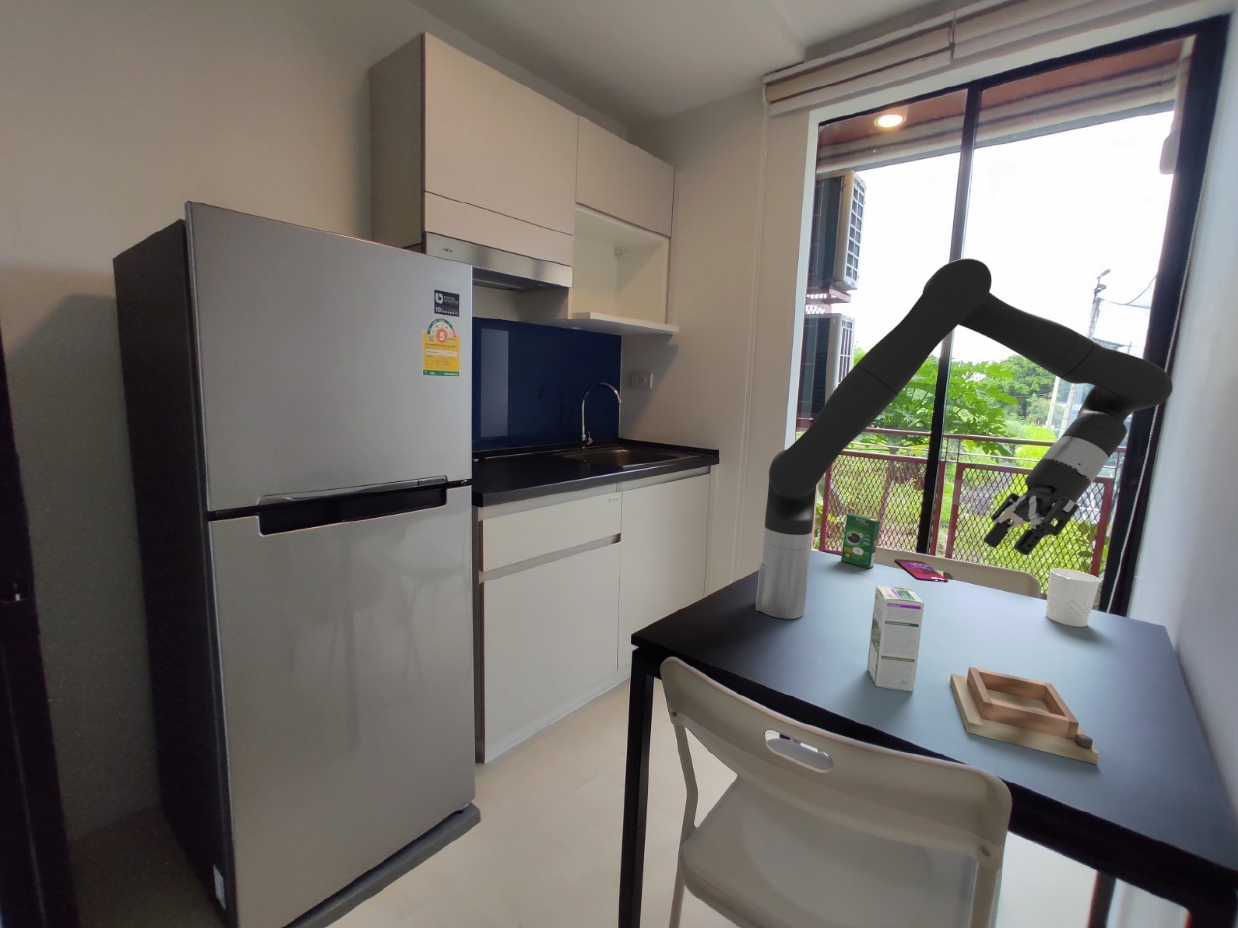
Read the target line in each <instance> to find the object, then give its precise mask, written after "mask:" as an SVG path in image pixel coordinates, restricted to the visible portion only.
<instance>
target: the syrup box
mask: <svg viewBox="0 0 1238 928" xmlns="http://www.w3.org/2000/svg"><path fill="white" fill-rule="evenodd" d="M873 601H874V603H873V610H872V611H873V612H872V621H871V628H870V638H869V647H868V648H869V649H868V658H867V665H866V667H867V668H866V669H867V671H868V674H869V675H870V677H871V679H872V681H873V684H874V685H875V686H876V687H879V688H883V689H889V690H896V691H897V690H898V691H905V692H914V689H915V681H916V674H917V668H918V667H917V666H918V660H919V650H920V642H921V641H920V640H921V631H922V622H923V616H924V615H923V614H924V606H925V603H924V602H923V601H922V599H921V598H920V597H919V596H918V595H917V594H916V593H915V592H914V590H913V589H909V588H903V587H898V586H883V585H882V586H879V585H876V587H875V593H874V599H873Z"/></svg>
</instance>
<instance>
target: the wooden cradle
mask: <svg viewBox="0 0 1238 928" xmlns="http://www.w3.org/2000/svg"><path fill="white" fill-rule="evenodd" d="M949 683H950V686H951V689H952V692H953V695H954V699H955V701H956V704H957V706H958V710H959V713H960V715H961V718H962V721H963V723H964V727H965V730H966V732H967V733H969V734H972V735H975V736H981V737H985V738H988V739H993V740H997V741H1001V742H1005V743H1010V744H1013V745H1018V746H1021V747H1026V748H1029V749H1033V750H1037V751H1041V752H1045V753H1048V754H1053V755H1058V756H1061V757H1064V758H1070V759H1074V760H1077V761H1081V762H1086V763H1090V764H1094V765H1098V759H1099V754H1100V753H1099V752H1098V750H1097V749H1096V747H1095V745H1093V739H1092V738H1091V737H1090V736H1088V735H1087V734H1086V733H1085V731H1084V729H1083V728H1082V727H1081V725H1080V723H1079V721H1078V720H1077V719H1076V717H1075V715H1074V714H1073V713H1072V711H1071V710H1070V708H1069V707H1068V706H1067V704H1066V702H1065V701H1064V700H1063V698H1062V696H1061V695H1060V694H1059V693H1058V691H1057V689H1056V688H1055V687H1054V685H1053V683H1048V682H1043V681H1039V680H1035V679H1029V678H1024V677H1019V676H1016V675H1010V674H1007V673H1000V672H998V671H997V672H996V671H991V670H986V669H982V668H977V667H972V666H968V672H967V676H965V675H961V674H955V673H951V675H950V680H949Z"/></svg>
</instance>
